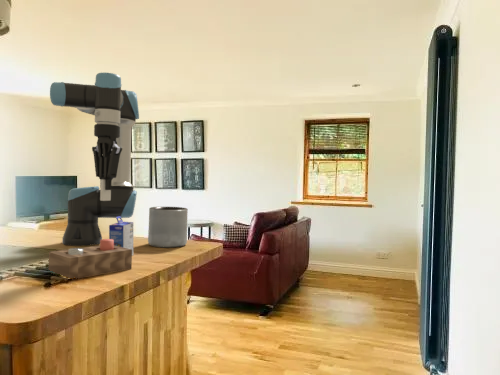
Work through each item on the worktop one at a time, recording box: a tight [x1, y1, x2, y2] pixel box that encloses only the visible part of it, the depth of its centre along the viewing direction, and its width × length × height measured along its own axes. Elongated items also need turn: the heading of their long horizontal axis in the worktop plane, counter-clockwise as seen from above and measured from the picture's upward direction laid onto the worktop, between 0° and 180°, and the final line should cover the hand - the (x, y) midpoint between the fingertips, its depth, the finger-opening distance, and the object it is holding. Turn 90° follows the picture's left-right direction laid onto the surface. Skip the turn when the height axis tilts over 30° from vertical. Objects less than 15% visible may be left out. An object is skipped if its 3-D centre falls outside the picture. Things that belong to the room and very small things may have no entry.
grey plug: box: [67, 247, 84, 255], centre depth 119 cm, size 4×4×6 cm
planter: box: [147, 206, 188, 249], centre depth 171 cm, size 16×16×16 cm
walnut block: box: [48, 245, 133, 280], centre depth 123 cm, size 20×12×6 cm, turn 141°
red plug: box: [99, 238, 114, 251], centre depth 126 cm, size 4×4×6 cm
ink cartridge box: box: [108, 216, 134, 257], centre depth 142 cm, size 10×6×14 cm, turn 176°
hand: (105, 200), depth 127 cm, fingers closed
